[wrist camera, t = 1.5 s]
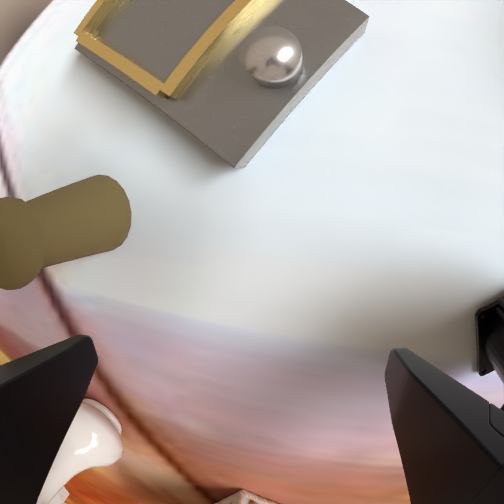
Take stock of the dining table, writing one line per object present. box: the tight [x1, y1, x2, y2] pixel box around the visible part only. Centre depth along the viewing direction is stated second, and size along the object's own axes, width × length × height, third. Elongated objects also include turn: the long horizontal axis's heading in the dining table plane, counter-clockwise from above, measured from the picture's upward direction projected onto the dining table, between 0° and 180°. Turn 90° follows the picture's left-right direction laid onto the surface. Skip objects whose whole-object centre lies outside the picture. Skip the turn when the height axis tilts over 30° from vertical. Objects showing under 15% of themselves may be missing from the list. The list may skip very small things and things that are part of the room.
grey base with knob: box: [74, 0, 369, 168], centre depth 14 cm, size 16×12×4 cm
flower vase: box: [36, 398, 123, 504], centre depth 18 cm, size 13×18×25 cm
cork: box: [0, 175, 131, 290], centre depth 17 cm, size 6×6×11 cm
